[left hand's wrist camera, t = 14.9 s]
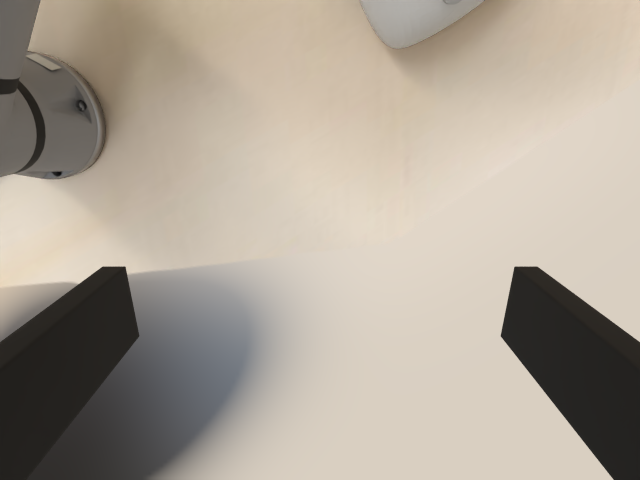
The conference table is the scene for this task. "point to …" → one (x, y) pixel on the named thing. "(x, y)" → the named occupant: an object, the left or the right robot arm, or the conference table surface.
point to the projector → (413, 18)
